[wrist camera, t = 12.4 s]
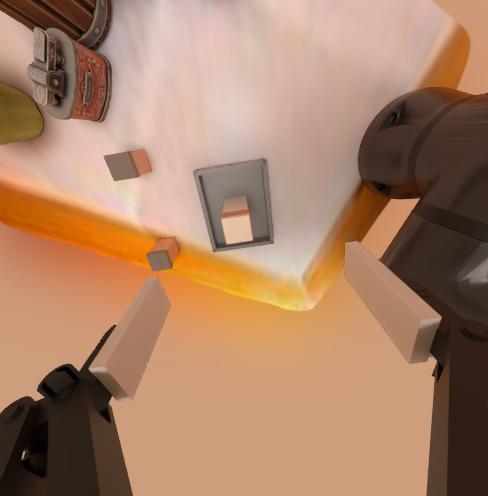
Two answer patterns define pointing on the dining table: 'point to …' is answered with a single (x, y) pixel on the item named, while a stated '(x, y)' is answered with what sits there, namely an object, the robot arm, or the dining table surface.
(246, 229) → the block
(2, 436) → the robot arm
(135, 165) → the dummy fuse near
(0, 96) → the plant pot
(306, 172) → the dining table surface
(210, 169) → the tray
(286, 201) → the dining table surface
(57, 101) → the lighter
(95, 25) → the mug
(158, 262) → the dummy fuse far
